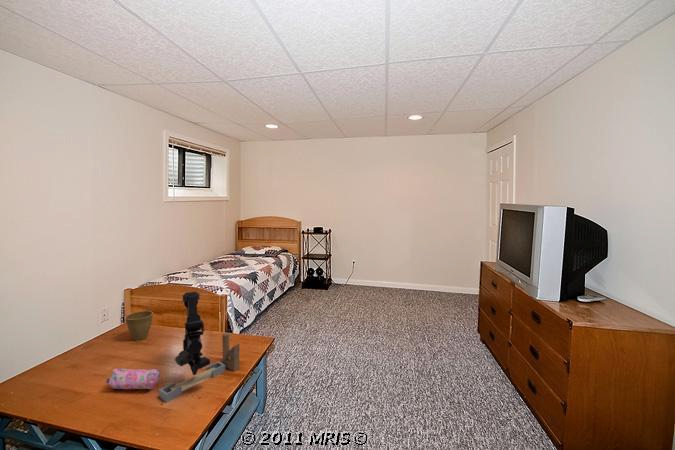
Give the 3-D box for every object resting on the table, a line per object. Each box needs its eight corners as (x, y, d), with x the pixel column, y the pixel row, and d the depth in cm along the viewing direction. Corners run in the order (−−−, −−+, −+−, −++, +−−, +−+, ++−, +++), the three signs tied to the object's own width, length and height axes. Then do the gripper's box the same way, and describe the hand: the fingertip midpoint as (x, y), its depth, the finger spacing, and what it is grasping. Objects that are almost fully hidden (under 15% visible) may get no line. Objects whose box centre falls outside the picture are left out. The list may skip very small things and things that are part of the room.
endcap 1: (159, 396, 131) (159, 389, 131) (174, 388, 137) (174, 382, 137) (166, 402, 127) (165, 394, 127) (181, 394, 133) (181, 386, 133)
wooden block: (234, 371, 152) (234, 339, 151) (220, 365, 157) (220, 334, 156) (239, 368, 155) (239, 336, 154) (226, 362, 160) (226, 331, 159)
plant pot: (141, 332, 197) (141, 309, 196) (158, 335, 193) (158, 312, 192) (120, 341, 183) (119, 317, 182) (138, 345, 179) (137, 320, 178)
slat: (169, 394, 134) (169, 387, 133) (213, 372, 151) (213, 367, 151) (172, 396, 132) (172, 390, 132) (216, 374, 149) (216, 369, 149)
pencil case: (105, 392, 134) (104, 374, 133) (120, 380, 143) (120, 363, 142) (149, 394, 133) (149, 375, 132) (162, 382, 142) (161, 365, 141)
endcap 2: (225, 371, 152) (225, 365, 152) (213, 377, 146) (213, 371, 146) (218, 367, 156) (218, 361, 156) (206, 373, 150) (206, 366, 150)
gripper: (167, 345, 139) (168, 375, 140) (187, 357, 129) (188, 390, 129) (190, 336, 148) (190, 365, 149) (210, 347, 138) (211, 378, 139)
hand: (194, 374), depth 141 cm, fingers closed
